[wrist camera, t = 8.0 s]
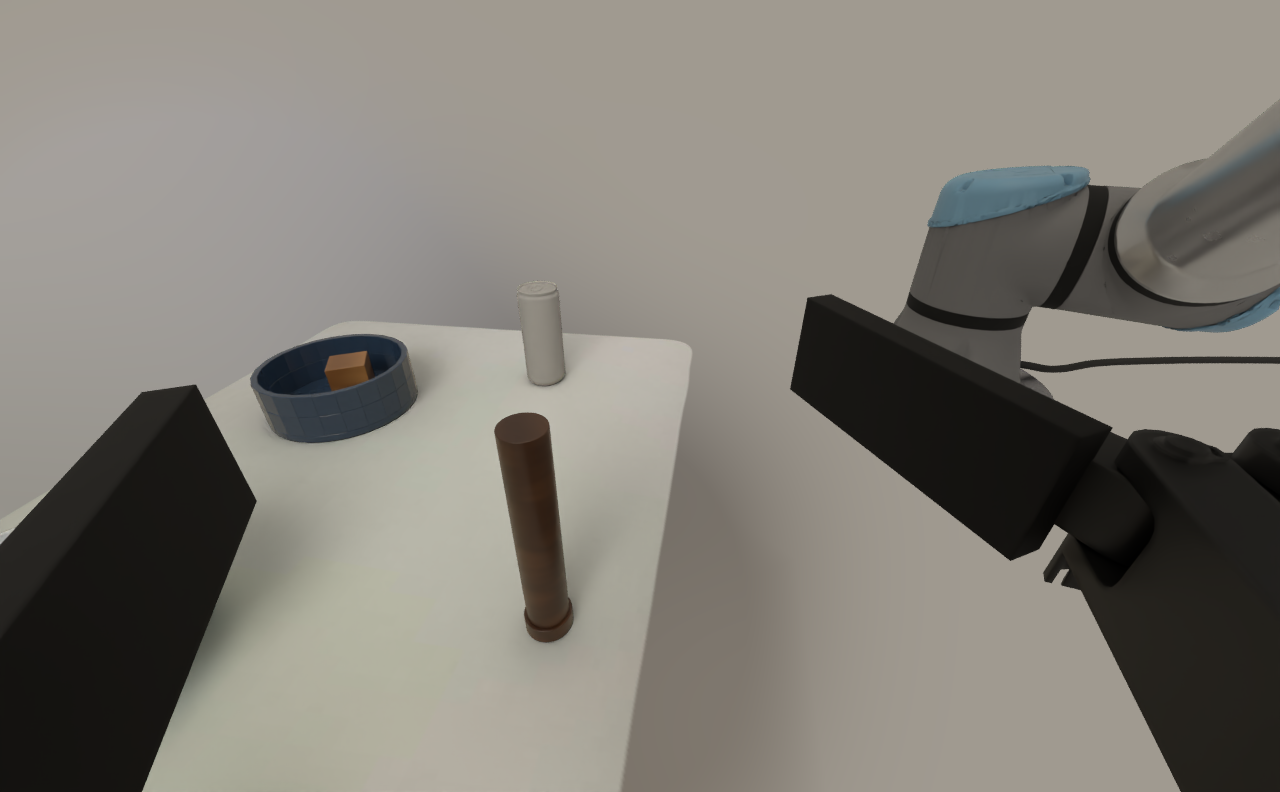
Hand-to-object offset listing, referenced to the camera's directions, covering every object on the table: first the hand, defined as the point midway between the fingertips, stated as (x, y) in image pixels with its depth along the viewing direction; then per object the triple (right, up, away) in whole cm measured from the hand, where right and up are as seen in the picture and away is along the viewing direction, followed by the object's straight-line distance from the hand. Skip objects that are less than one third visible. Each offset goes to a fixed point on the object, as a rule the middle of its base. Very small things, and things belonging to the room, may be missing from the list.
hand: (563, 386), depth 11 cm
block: (-32, 0, +47) cm, 57 cm away
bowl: (-32, -1, +46) cm, 57 cm away
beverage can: (-10, +2, +52) cm, 53 cm away
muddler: (-4, -16, +23) cm, 28 cm away
